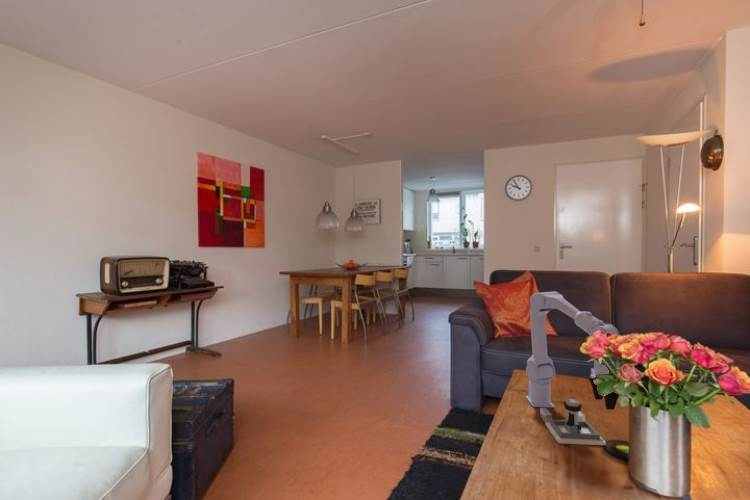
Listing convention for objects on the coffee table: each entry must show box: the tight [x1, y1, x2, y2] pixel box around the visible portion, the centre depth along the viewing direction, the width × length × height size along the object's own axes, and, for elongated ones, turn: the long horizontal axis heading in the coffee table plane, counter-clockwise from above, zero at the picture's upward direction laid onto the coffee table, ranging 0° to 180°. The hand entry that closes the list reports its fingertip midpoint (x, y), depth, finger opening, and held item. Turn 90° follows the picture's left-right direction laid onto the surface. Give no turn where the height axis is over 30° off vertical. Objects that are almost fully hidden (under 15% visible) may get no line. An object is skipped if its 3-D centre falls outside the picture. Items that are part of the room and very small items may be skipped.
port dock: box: [545, 419, 607, 446], centre depth 125 cm, size 12×14×2 cm
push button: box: [563, 398, 584, 433], centre depth 124 cm, size 7×5×10 cm
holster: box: [539, 407, 586, 424], centre depth 135 cm, size 6×13×3 cm, turn 84°
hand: (604, 403), depth 124 cm, fingers open, 7 cm apart
